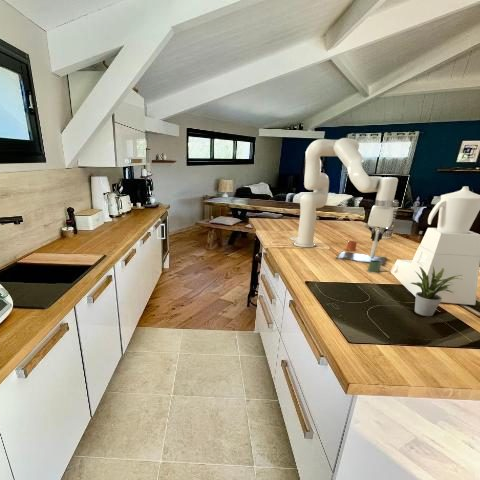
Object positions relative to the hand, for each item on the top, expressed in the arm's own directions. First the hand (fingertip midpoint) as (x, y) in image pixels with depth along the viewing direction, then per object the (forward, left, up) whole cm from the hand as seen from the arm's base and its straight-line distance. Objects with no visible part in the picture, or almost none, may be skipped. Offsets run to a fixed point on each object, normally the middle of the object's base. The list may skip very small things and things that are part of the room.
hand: (375, 240), depth 160 cm
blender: (+23, -31, -11) cm, 40 cm away
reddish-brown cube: (-13, +18, -11) cm, 25 cm away
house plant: (+23, -61, -11) cm, 66 cm away
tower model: (0, +70, -11) cm, 71 cm away
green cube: (+3, -20, -11) cm, 23 cm away
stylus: (0, 0, -10) cm, 10 cm away
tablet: (-5, 0, -11) cm, 12 cm away
